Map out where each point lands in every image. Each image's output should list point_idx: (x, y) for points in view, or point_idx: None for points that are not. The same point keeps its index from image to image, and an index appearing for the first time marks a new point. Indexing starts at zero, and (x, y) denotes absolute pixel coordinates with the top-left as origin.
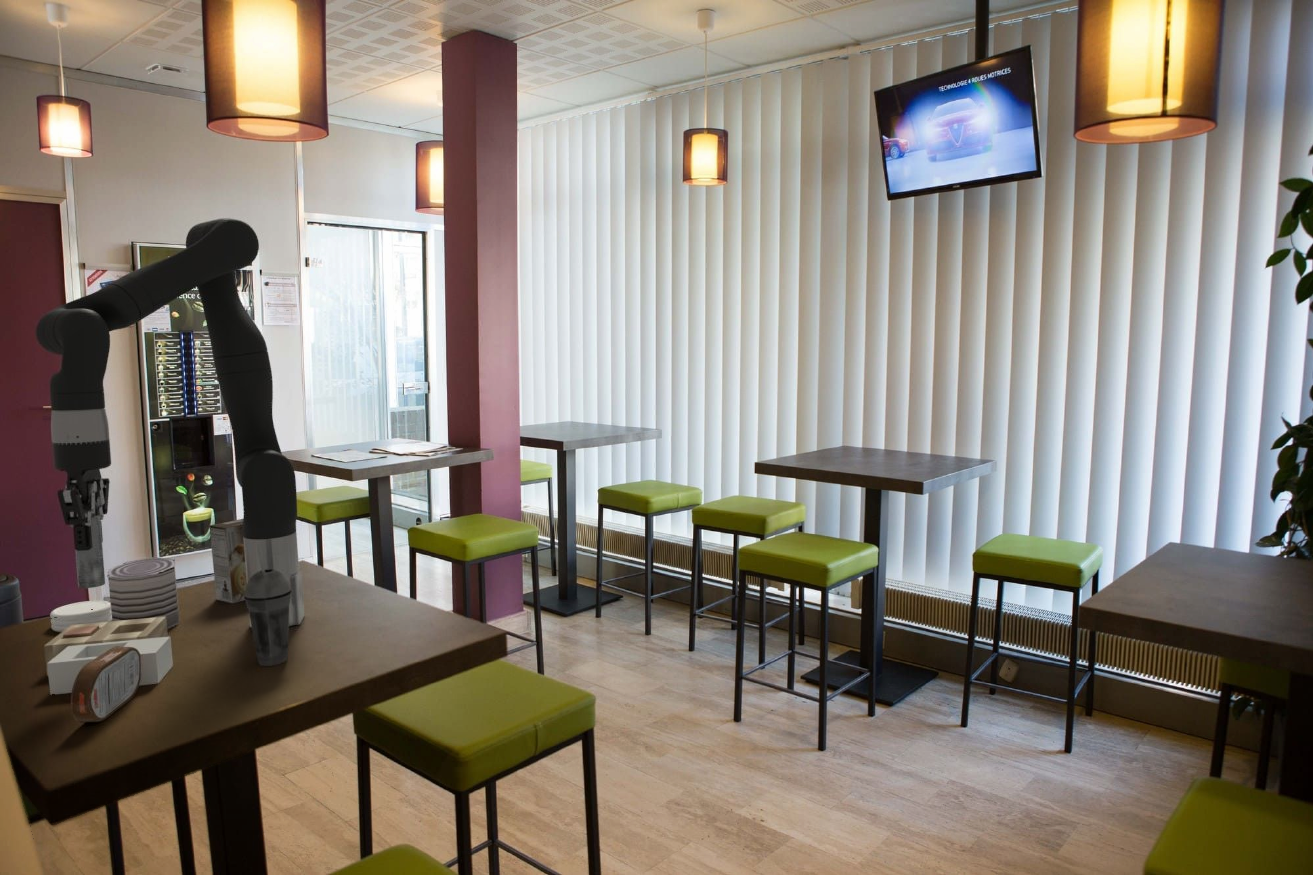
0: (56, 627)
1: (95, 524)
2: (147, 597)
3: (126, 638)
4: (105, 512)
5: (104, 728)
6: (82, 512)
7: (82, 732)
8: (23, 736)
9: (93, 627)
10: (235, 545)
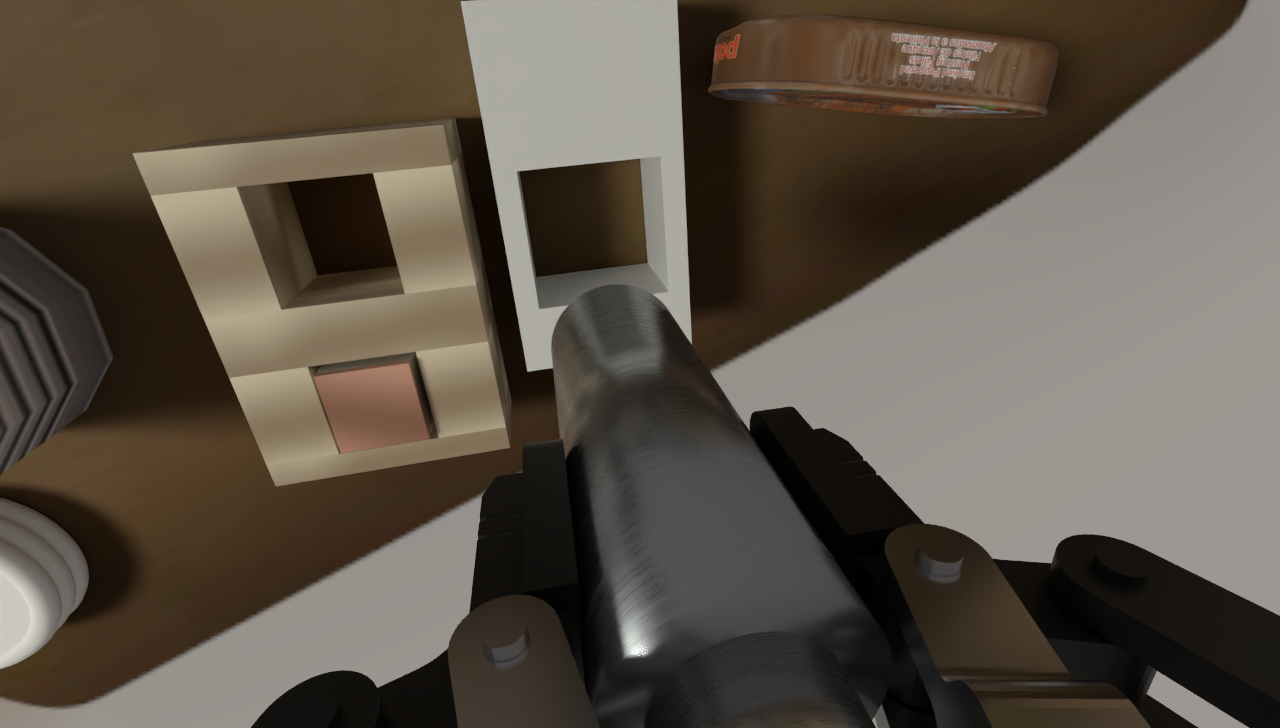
0: (76, 600)
1: (787, 525)
2: None
3: (458, 203)
4: (348, 695)
5: None
6: (1274, 659)
7: None
8: (928, 234)
9: (343, 382)
10: None
